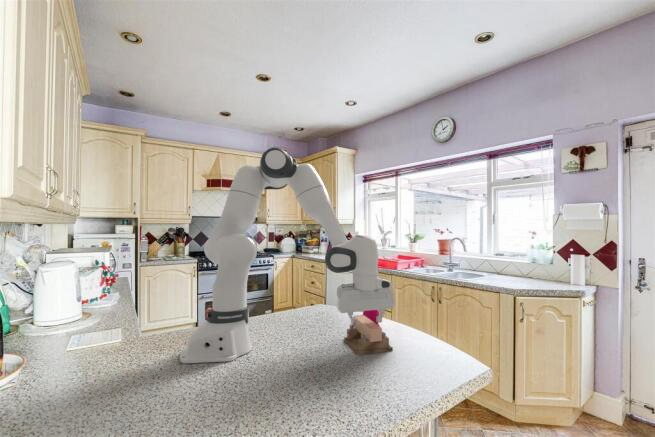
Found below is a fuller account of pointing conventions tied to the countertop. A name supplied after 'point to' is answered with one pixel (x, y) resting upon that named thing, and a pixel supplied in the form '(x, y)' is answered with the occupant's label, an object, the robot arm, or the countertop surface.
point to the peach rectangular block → (368, 328)
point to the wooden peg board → (366, 342)
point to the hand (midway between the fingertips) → (366, 323)
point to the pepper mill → (372, 315)
